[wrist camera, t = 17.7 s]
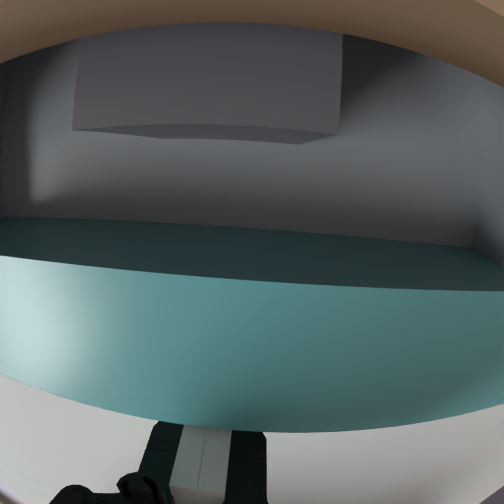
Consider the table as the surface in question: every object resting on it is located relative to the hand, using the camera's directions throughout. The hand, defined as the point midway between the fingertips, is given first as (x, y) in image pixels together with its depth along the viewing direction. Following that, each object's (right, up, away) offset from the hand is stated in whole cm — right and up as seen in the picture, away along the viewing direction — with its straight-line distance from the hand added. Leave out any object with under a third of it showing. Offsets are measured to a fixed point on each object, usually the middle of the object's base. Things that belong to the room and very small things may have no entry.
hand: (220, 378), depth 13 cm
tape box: (+1, +13, -3) cm, 13 cm away
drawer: (+1, +13, -2) cm, 13 cm away
